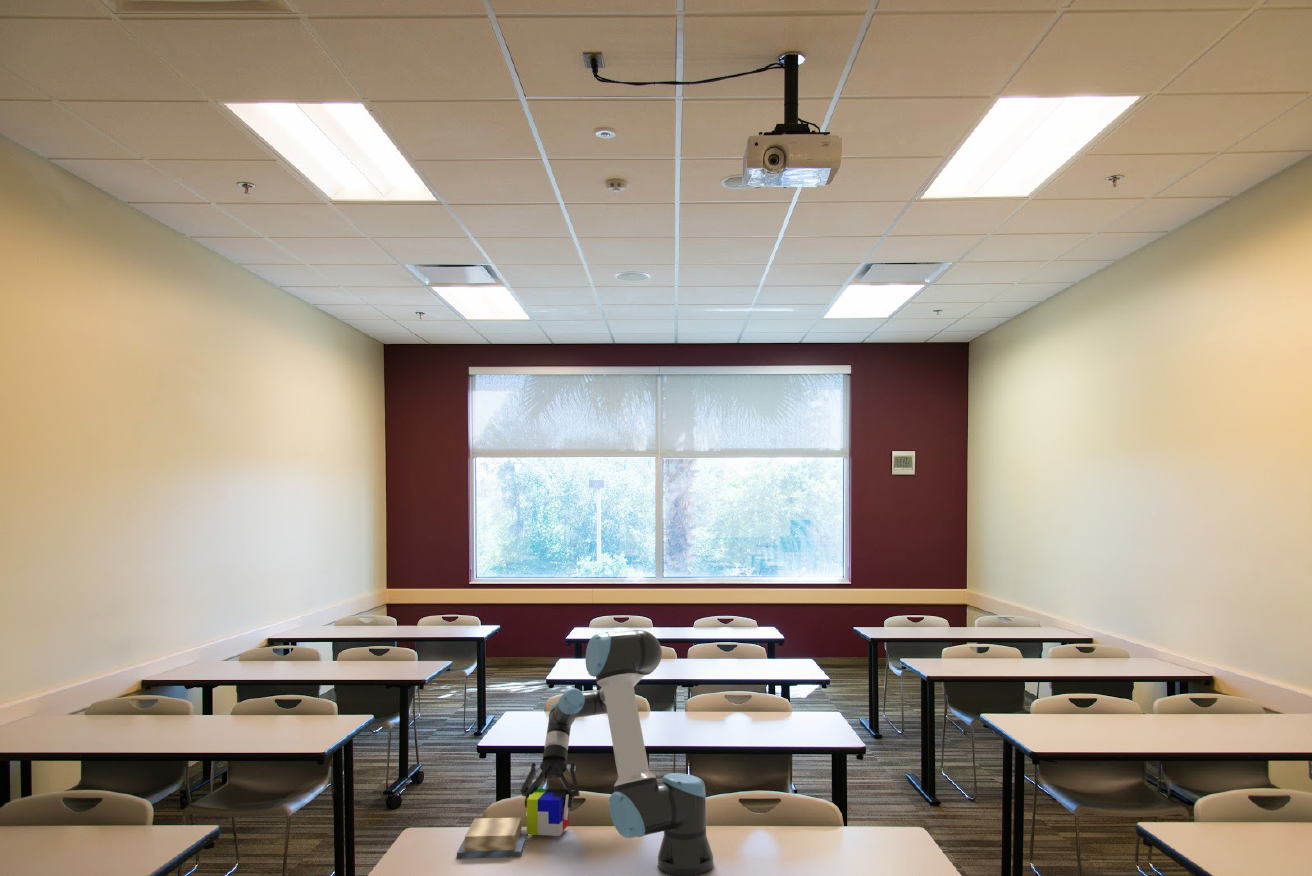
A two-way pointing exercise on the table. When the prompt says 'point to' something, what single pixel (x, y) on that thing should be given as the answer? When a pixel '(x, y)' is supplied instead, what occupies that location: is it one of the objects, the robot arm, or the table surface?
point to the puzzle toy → (546, 812)
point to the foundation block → (493, 838)
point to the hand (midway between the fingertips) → (546, 817)
